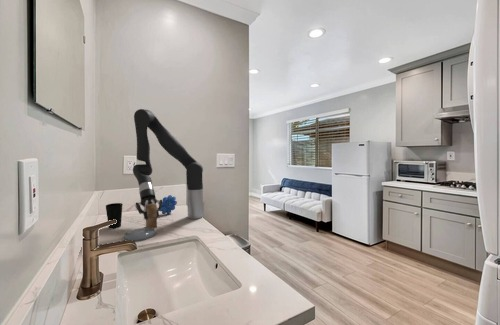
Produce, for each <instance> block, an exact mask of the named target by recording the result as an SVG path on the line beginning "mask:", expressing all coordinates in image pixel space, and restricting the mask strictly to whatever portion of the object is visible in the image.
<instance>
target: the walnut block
mask: <svg viewBox="0 0 500 325" xmlns="http://www.w3.org/2000/svg"><path fill="white" fill-rule="evenodd" d="M156 206H157V203H156V204H155V203H153V204H146V212H147V217H148V219H147V220H146V219H145V228H152V229H155V228H158V218H157V208H158V207H157V208H156Z"/></svg>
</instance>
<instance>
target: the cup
mask: <svg viewBox="0 0 500 325" xmlns="http://www.w3.org/2000/svg"><path fill="white" fill-rule="evenodd" d="M105 210H106V217H107V222H108V221H109V220H113V219H116V220H117V223H116V224H113V225H110V226H108V229H109V228H113V229H112V230H115V229H119V228H121V226H122V217H123V216H122V215H123V203H122V202H121V203H120V202H114V203H113V202H112V203H108V204H106V205H105Z"/></svg>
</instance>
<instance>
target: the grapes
mask: <svg viewBox="0 0 500 325" xmlns="http://www.w3.org/2000/svg"><path fill="white" fill-rule="evenodd" d="M177 204H178V201H177V198H176V196H173V195H171V194H170V195H168V196H164V197H163V198H162V207H161V211H160V212H161V214H162V215H166V214H167V215H169V214H171V213H172V211H174V210H175V209H176V205H177Z"/></svg>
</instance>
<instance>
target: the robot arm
mask: <svg viewBox="0 0 500 325" xmlns="http://www.w3.org/2000/svg"><path fill="white" fill-rule="evenodd" d="M133 122H134V127H135V135H136V159H137V161H141V162H145V163H139V164H135V165H134V166H133V168H132V173H133V175H134V177H135V179H136V180H137V182H138V183H137V184H138V188H139V189H138V190H139V191H138V192H139V196H140V202H135V208H136V210H137V212H138V214H140V215H143V219H144V220H145V221H146V220H147V219H148V217H147V212H146V204H153V203H155V204H156V208H157V219H158V218H159V216H160V213H159V212H162V211H161V207H162V201H163V199H160V200H159V199H157V197H156V193H155V189H154V188H155V187H154V185H153V181H152V177H151V176H152V173H153V166H152V164H151V159H150V158H151V157H150V153H151V152H150V151H151V148H150V140H149V137H148V129H149V130H150V131H151V132H152V133H153V134H154V136H155V137H156V139H157V142H158V143H159V145H160V146H161V147H162V149H164V150H165V151H166V153H167V154H169V155H170V156H171V157H173V158H174V159H175V160H177V161H178V162H179V163H180V164H181V165H182V166H183V167H184V168H185V170H186V171H185V172H186V174H185V175H186V179H185V180H186V189H187V190H186V194H187V195H186V196H187V201H186V202H187V218H188V219H190V220H193V219H194V220H197V219H201V218H203V217H204V218H205V201H204V184H203V172H204V167H203V165H202V164H201V163H200V162H198V161H197V160H196V159H195V158H193V157H192V155H190V154H189V152H188V151H187V150H186V148H185V146H183V145H182V144H181V143H180V141H179V140H178V139H177V138H176V137H175V136H174V135H173V134H172V133H171V132H170V131H169V130H168V129H167V128H166V127H165V126H164V125H163V124H162V123H161V122H160V120H159V118H158V117H157V116H156V115H155V113H154V112H153V111H152V110H149V109H142V108H140V109H137V110H136V111H134V115H133ZM157 204H158V206H157ZM141 206H142V207H144V208H143V209H142V207H141Z"/></svg>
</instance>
